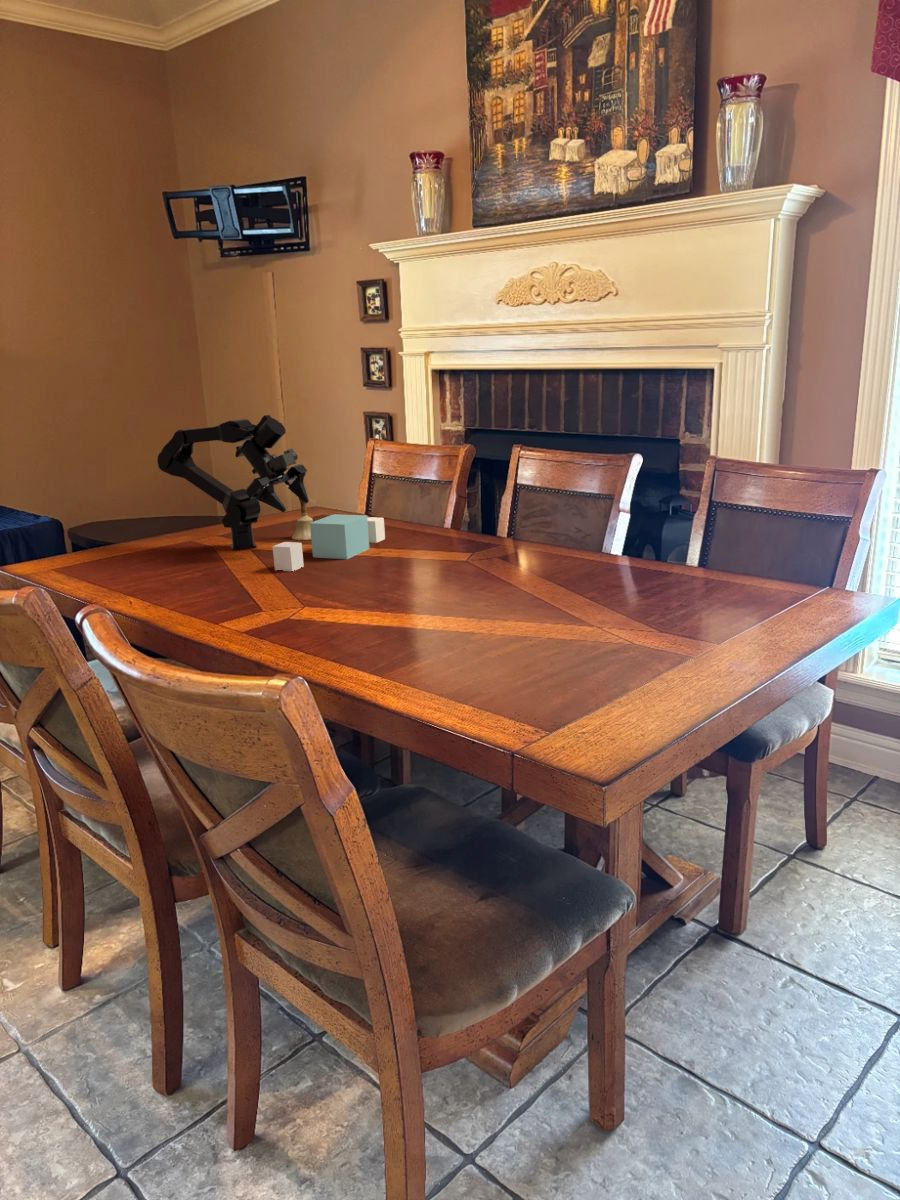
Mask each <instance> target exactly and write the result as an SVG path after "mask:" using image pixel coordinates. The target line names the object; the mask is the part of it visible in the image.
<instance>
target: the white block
mask: <svg viewBox="0 0 900 1200" xmlns="http://www.w3.org/2000/svg"><path fill="white" fill-rule="evenodd" d="M271 547H272V556H273V563H274V565H273V566H274V571H277V570H283V571H282V572H291V571H293V572H295V571H297V570H299V569H301V567H302V568H304V567H305V565H304V555H303V544H302V542H294V541H283V542H280V543H278V544H275V545H272V546H271ZM294 570H295V571H294Z"/></svg>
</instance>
